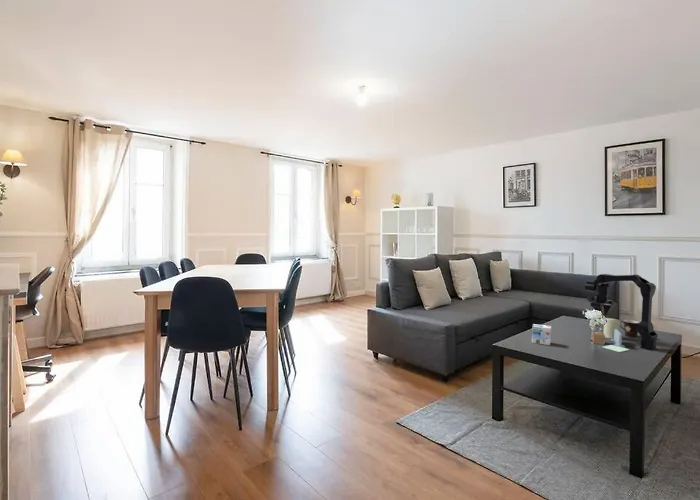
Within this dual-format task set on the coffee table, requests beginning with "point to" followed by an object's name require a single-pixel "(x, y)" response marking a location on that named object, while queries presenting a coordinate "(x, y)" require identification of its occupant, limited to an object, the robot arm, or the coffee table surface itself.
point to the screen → (617, 338)
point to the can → (611, 327)
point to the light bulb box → (541, 334)
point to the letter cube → (598, 338)
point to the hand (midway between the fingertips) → (601, 316)
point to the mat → (615, 348)
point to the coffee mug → (630, 328)
